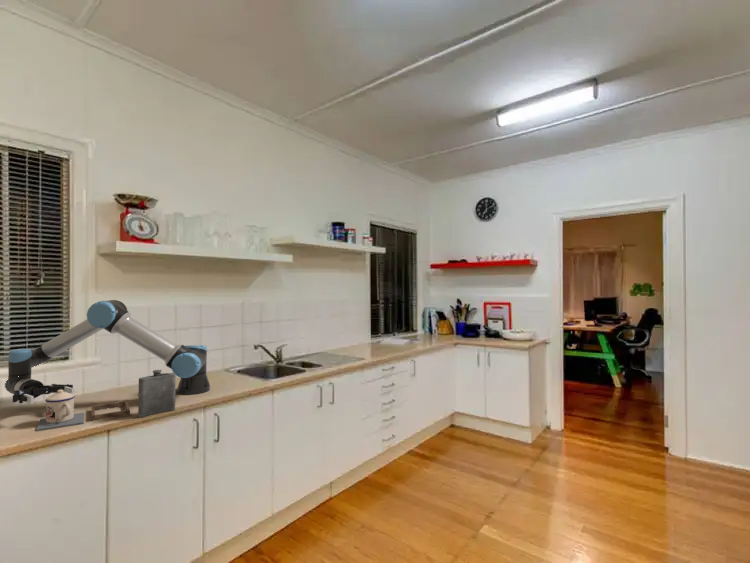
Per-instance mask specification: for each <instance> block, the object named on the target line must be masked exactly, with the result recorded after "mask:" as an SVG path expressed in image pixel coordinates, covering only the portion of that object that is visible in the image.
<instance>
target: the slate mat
mask: <svg viewBox="0 0 750 563" xmlns="http://www.w3.org/2000/svg"><path fill="white" fill-rule="evenodd" d="M84 420H85V412H79V413H74V417H73V418H72V419H71V420H68V421H65V422H60V423H47V422H46V417H43V418H40V419H39V422H38V425H37V427H36V432H41V431H46V430H52V429H59V427H60V428H65V427H72V426H77V425H78V426H79V425H84Z"/></svg>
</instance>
